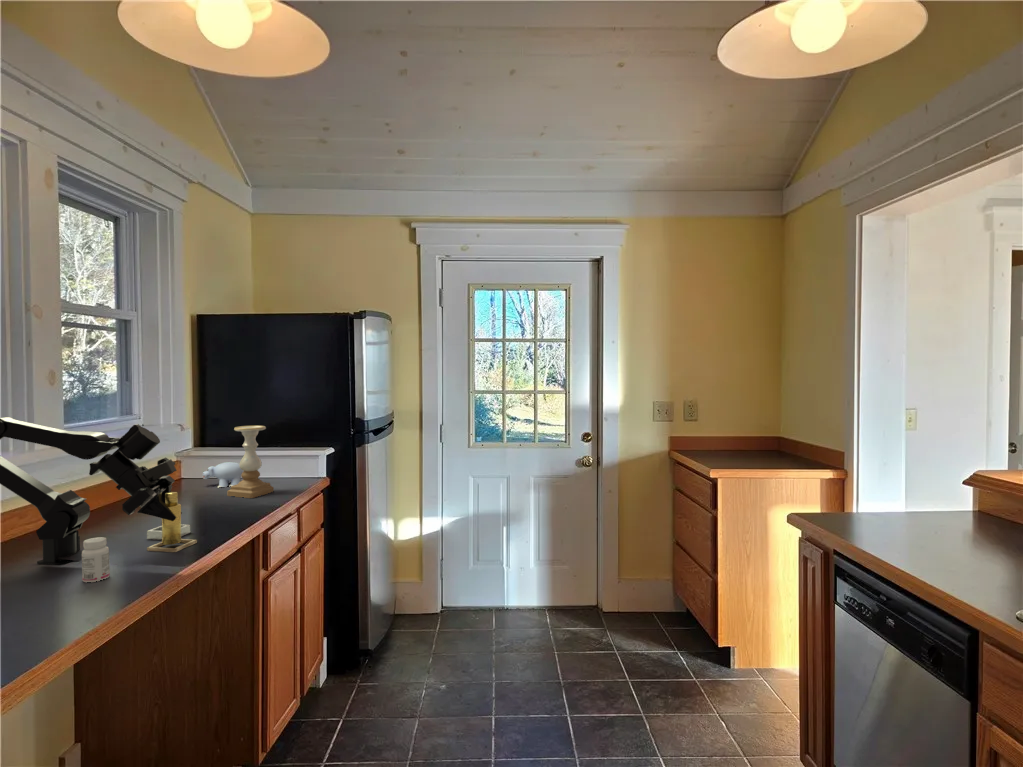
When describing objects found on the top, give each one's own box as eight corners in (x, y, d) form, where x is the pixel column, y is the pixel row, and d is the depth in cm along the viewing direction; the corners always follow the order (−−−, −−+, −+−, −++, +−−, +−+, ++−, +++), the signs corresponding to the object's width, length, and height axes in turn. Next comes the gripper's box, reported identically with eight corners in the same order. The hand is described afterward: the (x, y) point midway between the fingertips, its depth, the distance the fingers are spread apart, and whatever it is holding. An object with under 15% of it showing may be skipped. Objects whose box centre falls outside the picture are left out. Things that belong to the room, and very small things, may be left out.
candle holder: (249, 489, 211) (249, 424, 210) (274, 491, 208) (273, 425, 207) (226, 496, 201) (225, 427, 200) (252, 498, 197) (251, 429, 196)
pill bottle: (105, 573, 126) (104, 535, 126) (112, 578, 123) (112, 539, 123) (79, 579, 122) (78, 540, 122) (85, 584, 119) (85, 544, 119)
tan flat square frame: (175, 558, 136) (175, 549, 136) (146, 556, 137) (146, 547, 137) (197, 548, 143) (197, 539, 143) (170, 547, 144) (169, 538, 144)
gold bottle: (166, 545, 137) (166, 495, 137) (159, 542, 139) (158, 493, 139) (184, 541, 140) (183, 492, 140) (176, 538, 143) (176, 490, 142)
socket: (171, 546, 145) (171, 532, 145) (146, 544, 146) (146, 531, 146) (190, 537, 152) (190, 524, 152) (166, 536, 153) (166, 523, 153)
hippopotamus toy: (204, 484, 222) (203, 459, 221) (247, 481, 227) (246, 457, 227) (200, 489, 212) (200, 463, 211) (245, 486, 217) (245, 461, 217)
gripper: (137, 454, 129) (192, 501, 132) (165, 444, 147) (213, 485, 150) (97, 491, 127) (154, 537, 130) (130, 475, 145) (179, 516, 149)
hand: (177, 517), depth 140 cm, fingers closed on gold bottle, 4 cm apart
